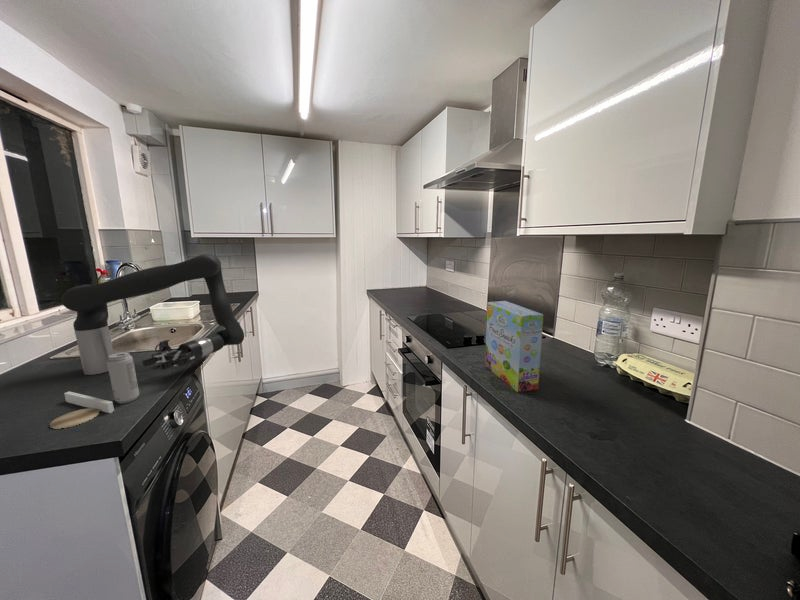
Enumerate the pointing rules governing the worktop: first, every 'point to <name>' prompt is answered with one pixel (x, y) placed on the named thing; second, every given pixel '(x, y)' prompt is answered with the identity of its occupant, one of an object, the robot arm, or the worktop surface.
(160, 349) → the hand grenade
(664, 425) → the worktop surface
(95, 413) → the cork coaster
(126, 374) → the energy drink can
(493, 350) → the snack box
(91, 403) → the white rectangular bar
